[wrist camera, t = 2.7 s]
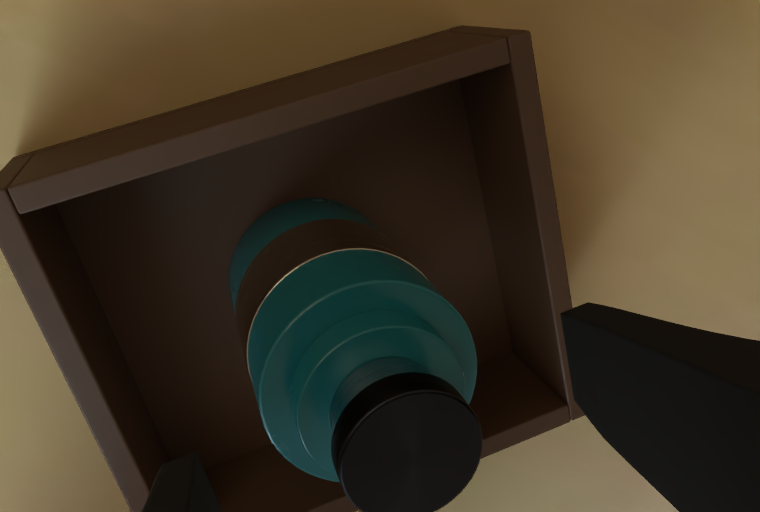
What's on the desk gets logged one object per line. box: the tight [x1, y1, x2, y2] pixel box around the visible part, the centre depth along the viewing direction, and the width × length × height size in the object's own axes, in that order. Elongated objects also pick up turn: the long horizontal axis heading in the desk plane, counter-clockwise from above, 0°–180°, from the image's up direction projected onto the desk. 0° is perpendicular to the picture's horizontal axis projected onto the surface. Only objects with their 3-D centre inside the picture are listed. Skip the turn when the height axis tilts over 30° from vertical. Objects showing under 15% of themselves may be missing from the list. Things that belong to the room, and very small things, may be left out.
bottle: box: [229, 198, 483, 512], centre depth 16 cm, size 5×5×9 cm
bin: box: [0, 25, 585, 512], centre depth 19 cm, size 12×11×4 cm
